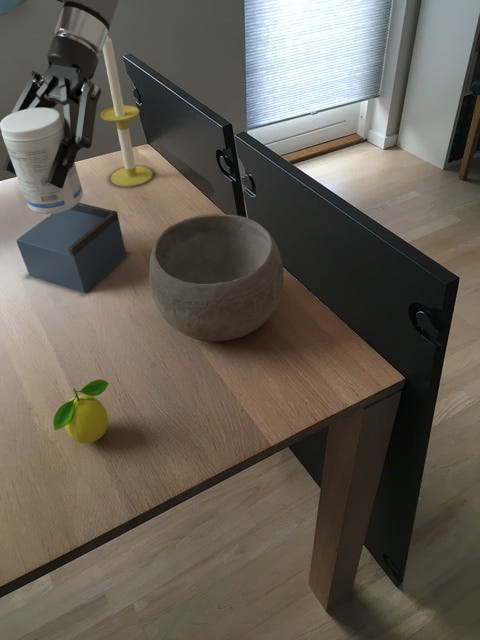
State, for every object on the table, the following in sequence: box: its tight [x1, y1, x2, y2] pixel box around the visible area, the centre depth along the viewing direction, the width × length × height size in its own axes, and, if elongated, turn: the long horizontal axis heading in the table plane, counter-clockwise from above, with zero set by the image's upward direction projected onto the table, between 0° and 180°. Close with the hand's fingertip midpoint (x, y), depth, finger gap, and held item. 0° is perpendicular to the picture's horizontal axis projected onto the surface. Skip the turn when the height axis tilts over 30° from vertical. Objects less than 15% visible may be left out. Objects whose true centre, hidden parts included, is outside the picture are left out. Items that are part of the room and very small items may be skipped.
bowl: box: [148, 213, 285, 342], centre depth 85 cm, size 21×21×15 cm
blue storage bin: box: [15, 202, 127, 293], centre depth 100 cm, size 13×13×10 cm
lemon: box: [52, 379, 109, 444], centre depth 70 cm, size 7×6×10 cm
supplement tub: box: [0, 108, 84, 215], centre depth 88 cm, size 10×10×15 cm
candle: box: [100, 34, 154, 188], centre depth 118 cm, size 10×10×32 cm
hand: (32, 178), depth 88 cm, fingers closed on supplement tub, 9 cm apart
